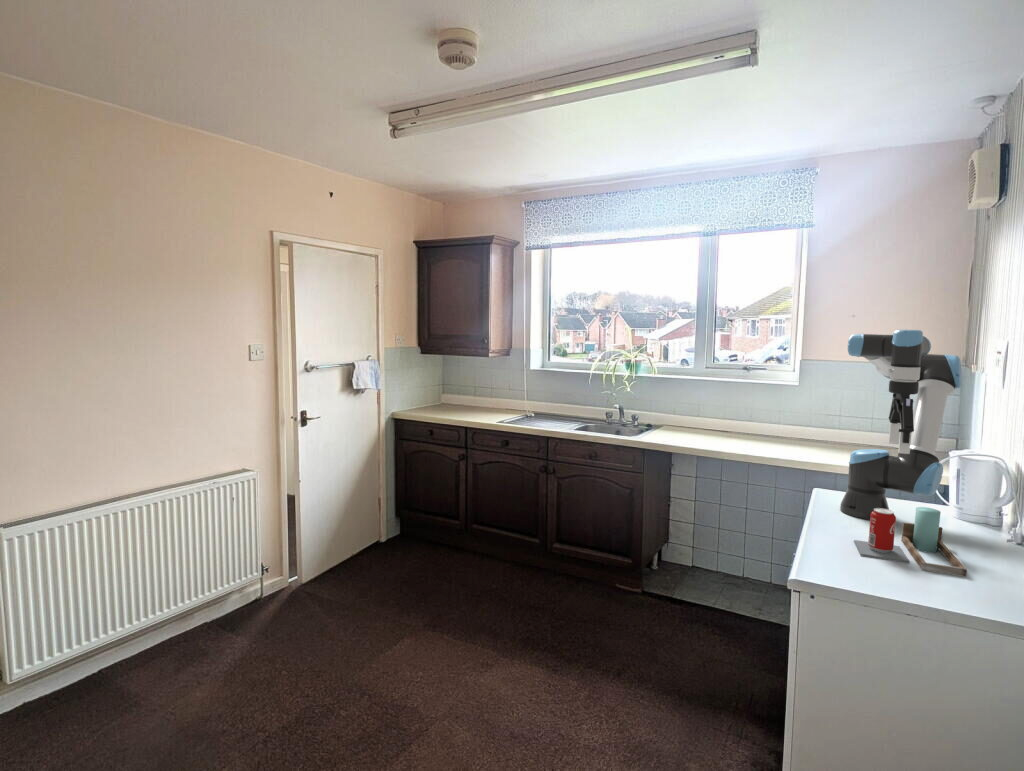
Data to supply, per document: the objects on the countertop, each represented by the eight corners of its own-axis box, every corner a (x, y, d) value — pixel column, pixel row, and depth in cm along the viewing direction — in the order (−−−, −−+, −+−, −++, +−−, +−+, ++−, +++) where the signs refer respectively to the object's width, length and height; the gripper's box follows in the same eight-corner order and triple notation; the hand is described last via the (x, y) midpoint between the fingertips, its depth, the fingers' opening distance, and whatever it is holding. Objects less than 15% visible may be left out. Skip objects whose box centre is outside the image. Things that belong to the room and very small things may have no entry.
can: (910, 543, 179) (913, 505, 177) (933, 546, 176) (937, 508, 175) (914, 550, 173) (918, 511, 172) (938, 553, 171) (943, 514, 169)
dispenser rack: (901, 540, 181) (903, 522, 180) (939, 546, 177) (941, 527, 176) (921, 569, 159) (923, 549, 158) (966, 576, 155) (968, 555, 154)
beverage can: (896, 554, 168) (900, 514, 166) (873, 552, 169) (876, 513, 168) (887, 546, 174) (890, 508, 173) (864, 544, 175) (867, 506, 174)
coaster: (853, 541, 179) (854, 539, 179) (899, 548, 175) (899, 546, 174) (860, 555, 168) (860, 553, 168) (909, 562, 163) (909, 560, 163)
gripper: (881, 375, 189) (876, 439, 191) (899, 384, 166) (893, 456, 169) (908, 376, 186) (903, 440, 189) (930, 385, 163) (924, 458, 166)
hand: (898, 448), depth 179 cm, fingers open, 13 cm apart
